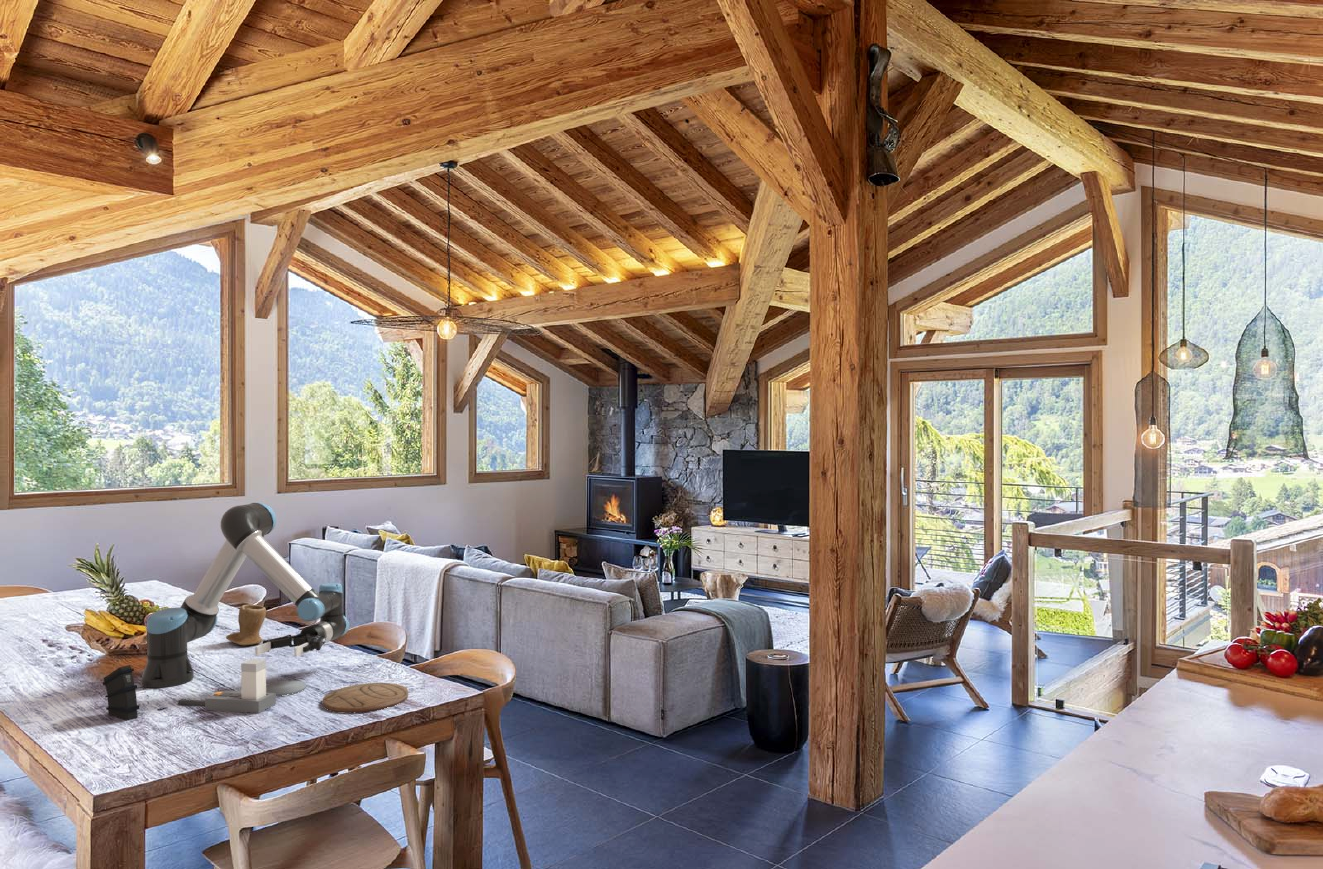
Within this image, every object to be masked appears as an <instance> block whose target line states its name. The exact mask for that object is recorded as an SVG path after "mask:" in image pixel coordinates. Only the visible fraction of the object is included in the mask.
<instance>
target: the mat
mask: <svg viewBox="0 0 1323 869" xmlns="http://www.w3.org/2000/svg"><path fill="white" fill-rule="evenodd" d="M305 688H306V689H307V683H306V682H305V681H301V680H283V681H281V680H280V681H276V682H271V683H268V684H267V683H266V693H276V696H281V697H283V696H282V695H287V694H292V693H296V694H299V693H301V692H300V691H302V690H303V691H305V690H306V689H305ZM304 689H305V690H304ZM303 691H302V692H303ZM298 692H299V693H298Z"/></svg>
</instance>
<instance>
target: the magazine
mask: <svg viewBox="0 0 1323 869" xmlns="http://www.w3.org/2000/svg"><path fill="white" fill-rule="evenodd" d="M134 671H135V669H134V668H133V667H132V666H131V664H129V665H124V666H120V667H118V668H117V669H115V670H114V671H112V672H110V673H109V674H108V675H106V676H105V677H103V682H102V686H105V689H106V695H105V696H104V697H105V699H106V698H107V706H106V708H105V709H106V711H108V712H107V713H108V715H109V716H112V717H115V718H119V719H122V720H124V721H127V720H128V721H131V720H134V718H135V719H137V718H138V710H140V705H139V704H138V701H137V700H138V699H137V693H136V692H137V691H136V690H137V689H138V684H135V678H134V675H133V672H134Z"/></svg>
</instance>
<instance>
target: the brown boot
mask: <svg viewBox="0 0 1323 869" xmlns="http://www.w3.org/2000/svg"><path fill="white" fill-rule="evenodd" d="M266 615H267V609H266V607H265V606H262V605H259V604H258V605H256V604H242V606H241V607H240V608H239V610H238V616H237V617H238V618H237V620H238V621H237V622H238V627H239V631H238V632H232V633H230V634H228V635H226V636H225V639H226V640H228V641H230V642H231V643H233V644H236V645H240V646H250V645H251V646H252V645H256V644H260V643H263V639H262V638H261V636H260V631H261V628H262V626H263V623H264V622H265V619H266Z"/></svg>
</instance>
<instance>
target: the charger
mask: <svg viewBox="0 0 1323 869" xmlns="http://www.w3.org/2000/svg"><path fill="white" fill-rule="evenodd" d="M266 660H267V659H254V658H253V659H247V660H246V661H243V662H241V663H240V670H241V671H240V672H241V674H240V681H241V686H240V687H241V689H240V691H241V692H242V699H249V700H258V699H260V698H262V697H264V696H266V685H267V663H266V662H267V661H266Z"/></svg>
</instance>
